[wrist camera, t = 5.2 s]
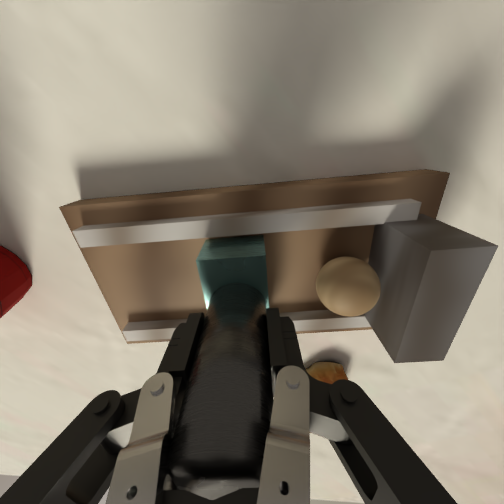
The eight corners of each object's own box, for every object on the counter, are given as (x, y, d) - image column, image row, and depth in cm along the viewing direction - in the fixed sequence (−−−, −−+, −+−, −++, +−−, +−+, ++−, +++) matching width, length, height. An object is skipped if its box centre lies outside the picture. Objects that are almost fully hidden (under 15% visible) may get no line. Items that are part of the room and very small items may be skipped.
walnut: (367, 244, 15) (401, 275, 12) (359, 289, 17) (387, 328, 14) (310, 248, 16) (328, 280, 12) (308, 293, 17) (323, 332, 14)
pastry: (304, 349, 24) (313, 384, 20) (358, 362, 25) (375, 397, 21) (273, 396, 28) (277, 432, 24) (320, 406, 29) (330, 441, 25)
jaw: (263, 234, 15) (284, 417, 5) (268, 312, 18) (287, 517, 8) (205, 239, 15) (115, 424, 5) (221, 315, 18) (183, 519, 8)
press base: (426, 169, 15) (550, 188, 9) (388, 311, 21) (447, 383, 15) (80, 199, 16) (-30, 236, 10) (137, 327, 22) (91, 400, 16)
